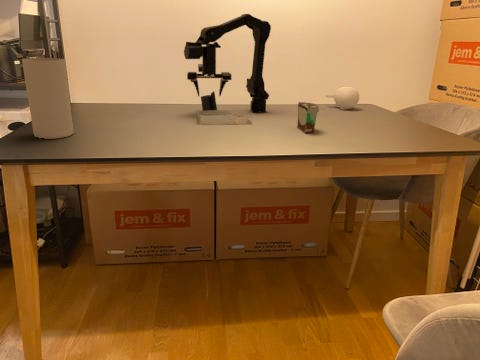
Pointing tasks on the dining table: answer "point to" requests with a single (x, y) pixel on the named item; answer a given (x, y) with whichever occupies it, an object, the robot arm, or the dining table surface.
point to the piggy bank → (345, 97)
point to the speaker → (209, 102)
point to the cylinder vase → (48, 97)
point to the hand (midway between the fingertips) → (209, 96)
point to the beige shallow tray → (219, 117)
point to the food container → (307, 117)
